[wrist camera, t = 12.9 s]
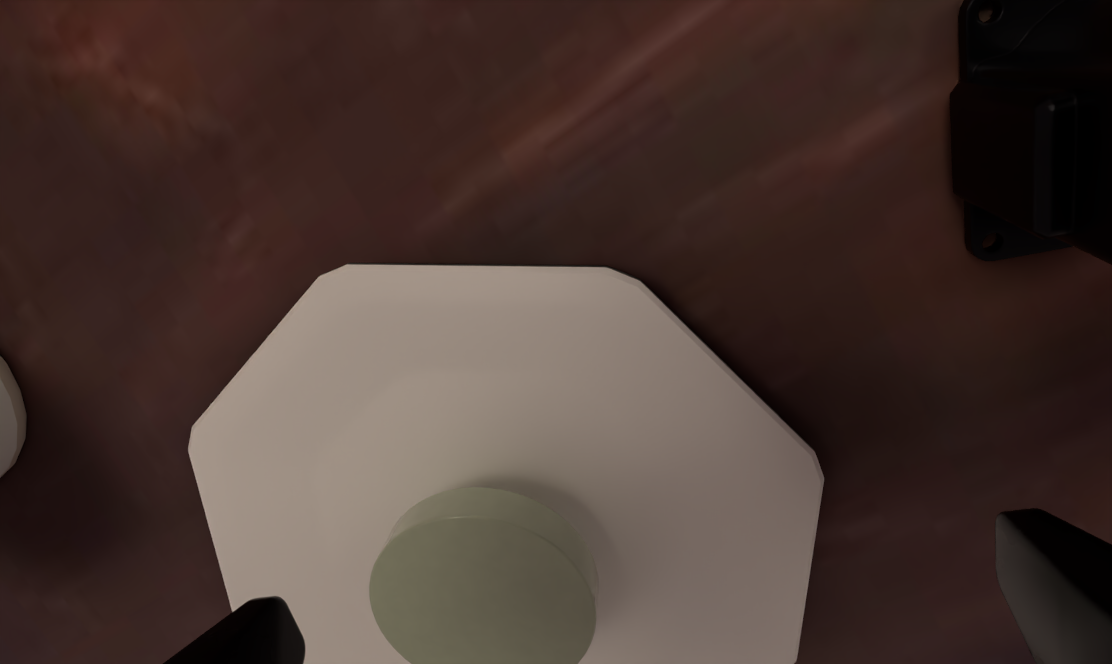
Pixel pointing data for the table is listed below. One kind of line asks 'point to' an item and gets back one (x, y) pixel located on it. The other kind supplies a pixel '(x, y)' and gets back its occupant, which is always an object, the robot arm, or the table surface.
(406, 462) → the plate
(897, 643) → the table surface
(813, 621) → the table surface
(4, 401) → the mug
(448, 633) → the green cylinder
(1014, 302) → the table surface
